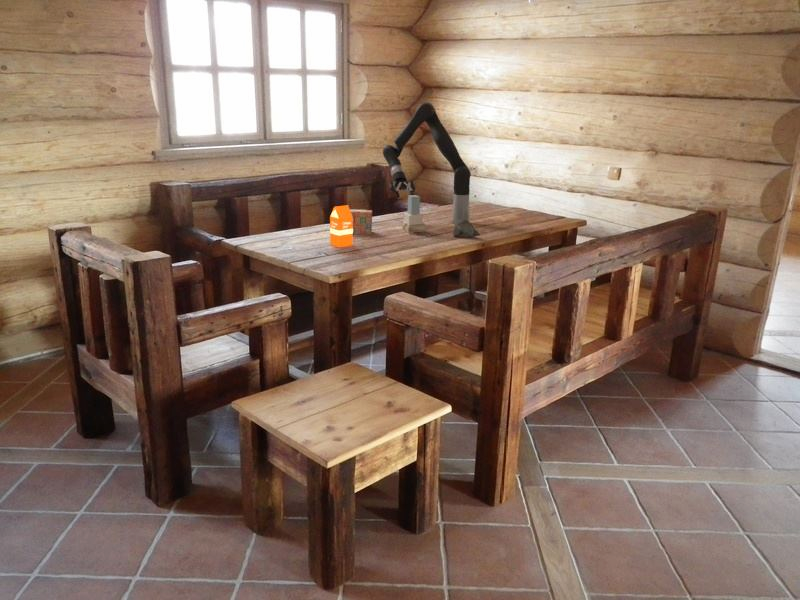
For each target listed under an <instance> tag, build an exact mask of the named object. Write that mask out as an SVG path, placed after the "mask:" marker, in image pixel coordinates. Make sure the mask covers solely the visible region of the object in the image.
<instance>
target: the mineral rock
mask: <svg viewBox="0 0 800 600" xmlns="http://www.w3.org/2000/svg"><path fill="white" fill-rule="evenodd" d="M452 232H453V233H452V236H453V237H455V236H456V237H457V238H466V239H468V237H469V238H474V237H480V236H481V234H480V233H479V230H477V229H476V228H475V226H474V224H473V223H472V222H470V220H469V221H467V220H466V219H463V220H461V221H460V220H457V221H456V224H455V223H454V227H453V231H452Z"/></svg>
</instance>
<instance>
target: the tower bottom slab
mask: <svg viewBox="0 0 800 600" xmlns="http://www.w3.org/2000/svg"><path fill="white" fill-rule="evenodd" d="M402 229H403V230H405V231H406V233H407V232H408V233H407V234H415V233H414V232H421V233H426V223H424V222H423V223H422V224H411V225H409V224H407V223H405V222H404V220H403V221H401V230H402ZM403 230H402V231H403ZM405 231H404V232H405Z"/></svg>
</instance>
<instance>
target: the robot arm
mask: <svg viewBox="0 0 800 600" xmlns="http://www.w3.org/2000/svg"><path fill="white" fill-rule="evenodd" d="M424 123H426V124H427V126H428V127H429V130H430V132H431V135H432V139H433V142H434V143H435V145H436V147H437V149H438V150H439V152H440V154H441V155H442V156H443V157H444V158H445V159H446V161H448V163H449V164H450V166H451V169H452V170H453V172H454V174H453V200H452V201H453V204H452V224H454V225H455V224H456V221H457V220H460V221H461V220H463V219H466V220H467V221H469V222H470V185H471V184H470V181H471V175H472V174H471V170H470V168H469V167H468V166H467V164H466V163H465V162H464V160H463V159H462V157H461V156H460V155H461V154H460V153H459V150H458V149H457V147H456V145H455V142H454V141H453V139H452V138H451V136H450V134H449V132H448V131H447V129H446V128H445V126H444V125H443V123H442V122H441V120H440V117H439V116H438V114H437V111H436V109H435V107H434V105H433V104H432V103H430V102H423V103H420V104H419V106H418V107H417V109H416V111H415V112H414V114H413V116H412V117H411V119H410V120H409V121H408V123H407V124H406V125H405V126H404V127H403V128H402V130H400V132H399V133H398V134H397V135H396V137H395V138H394V140H393V141H394V144H395V146H392V145H390V144H386V145H384V147H382V148H383V149H382V155H383V158H384V159H385V161H386V163H387V164H388V166H389V170H390V174H391V178H392V181H390V183H389V189H390V192H391V193H392V194H394V195H395V197H396V199H397V200H398V199H400V198H401V197H400V193H399V190H400V191H404V190H405V191H407V192H408V193H409V195H415V194H414V192H415V190H416V187H415V184H414V182H413V181H412V180H411V181H408V180H407V177H406V173H405V170H404V168H403V166H402V162H401V160H400V159H399V158H400V156H401V153H402V152H403V150H404V147H405V146H406V145H407V143H408V142H409V141H410V140H411V139H412V137H413V136H414V134H415V133H416V131H417V130H418V129H419V128H420V126H421V125H423V124H424ZM395 188H396V189H395Z"/></svg>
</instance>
